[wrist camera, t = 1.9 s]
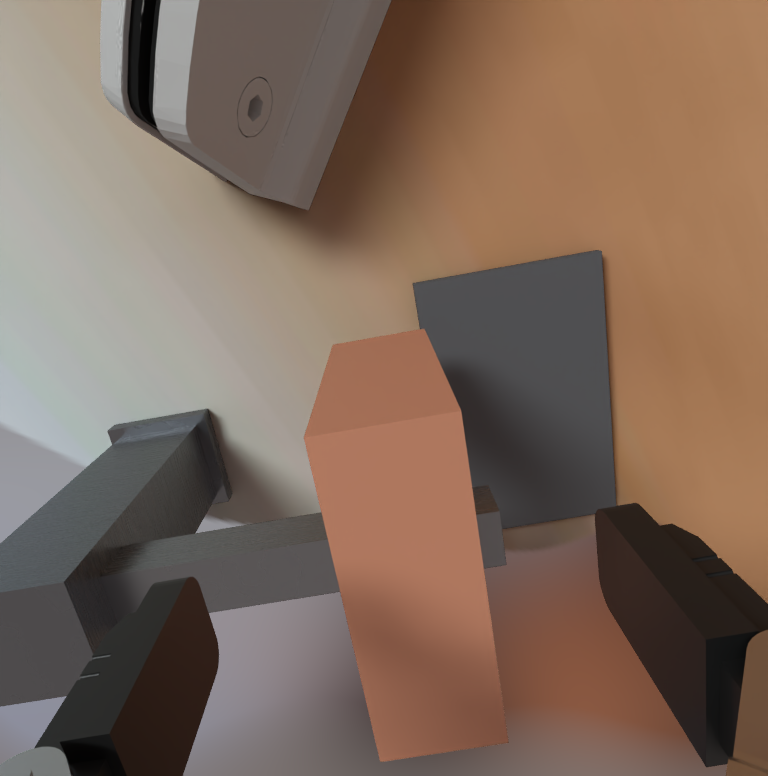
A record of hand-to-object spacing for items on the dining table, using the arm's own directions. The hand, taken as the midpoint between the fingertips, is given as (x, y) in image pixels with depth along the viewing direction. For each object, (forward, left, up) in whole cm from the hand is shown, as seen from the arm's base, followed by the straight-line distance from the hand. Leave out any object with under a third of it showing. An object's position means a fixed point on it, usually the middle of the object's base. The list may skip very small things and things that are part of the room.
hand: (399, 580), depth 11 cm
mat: (-7, +3, -18) cm, 19 cm away
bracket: (+6, +4, -18) cm, 19 cm away
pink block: (0, +3, -14) cm, 15 cm away
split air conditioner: (+1, -16, -18) cm, 25 cm away
